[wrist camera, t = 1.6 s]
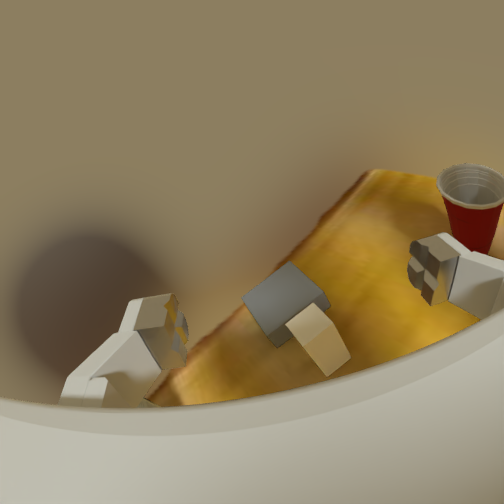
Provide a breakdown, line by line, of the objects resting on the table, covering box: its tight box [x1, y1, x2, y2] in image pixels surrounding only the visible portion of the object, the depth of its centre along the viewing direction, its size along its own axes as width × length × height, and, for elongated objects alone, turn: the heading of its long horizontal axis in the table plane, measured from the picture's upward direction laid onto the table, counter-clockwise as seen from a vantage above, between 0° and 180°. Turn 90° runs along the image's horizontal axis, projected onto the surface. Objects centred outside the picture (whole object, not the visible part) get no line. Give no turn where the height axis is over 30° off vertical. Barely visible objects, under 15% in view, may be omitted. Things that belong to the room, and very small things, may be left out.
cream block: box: [285, 303, 351, 377], centre depth 32 cm, size 4×4×9 cm
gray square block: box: [242, 261, 331, 348], centre depth 44 cm, size 10×10×4 cm
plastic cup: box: [436, 163, 504, 255], centre depth 30 cm, size 11×11×12 cm
